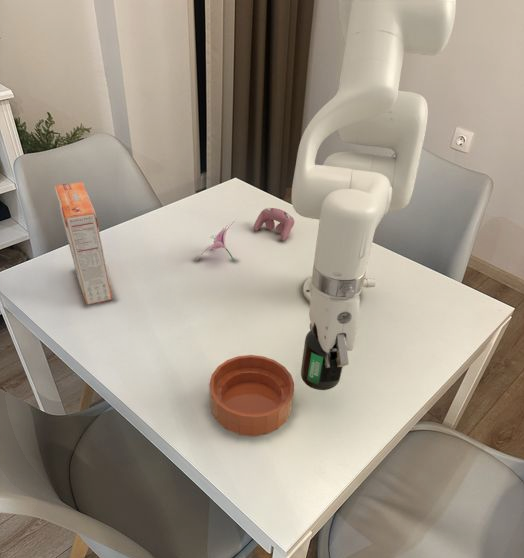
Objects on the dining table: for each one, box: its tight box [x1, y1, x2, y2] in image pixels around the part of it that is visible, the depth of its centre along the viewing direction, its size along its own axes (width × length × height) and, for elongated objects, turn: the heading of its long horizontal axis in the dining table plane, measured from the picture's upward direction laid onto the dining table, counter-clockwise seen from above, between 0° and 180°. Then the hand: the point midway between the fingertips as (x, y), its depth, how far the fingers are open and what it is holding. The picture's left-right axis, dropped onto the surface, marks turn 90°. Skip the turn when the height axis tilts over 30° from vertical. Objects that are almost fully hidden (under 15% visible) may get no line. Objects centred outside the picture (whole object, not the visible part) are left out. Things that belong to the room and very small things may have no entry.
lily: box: [196, 222, 236, 262], centre depth 122 cm, size 12×12×10 cm
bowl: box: [208, 354, 295, 437], centre depth 88 cm, size 14×14×6 cm
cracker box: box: [54, 181, 114, 306], centre depth 107 cm, size 14×6×21 cm, turn 24°
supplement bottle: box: [300, 323, 344, 391], centre depth 85 cm, size 7×7×12 cm
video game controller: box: [253, 207, 295, 242], centre depth 133 cm, size 10×5×7 cm, turn 58°
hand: (322, 363), depth 87 cm, fingers closed on supplement bottle, 6 cm apart
